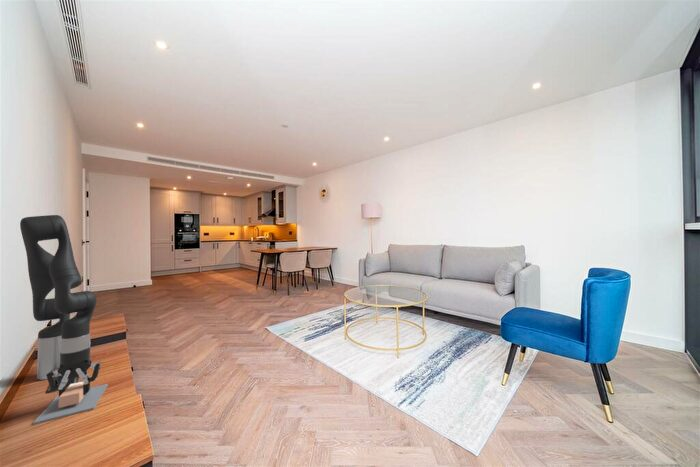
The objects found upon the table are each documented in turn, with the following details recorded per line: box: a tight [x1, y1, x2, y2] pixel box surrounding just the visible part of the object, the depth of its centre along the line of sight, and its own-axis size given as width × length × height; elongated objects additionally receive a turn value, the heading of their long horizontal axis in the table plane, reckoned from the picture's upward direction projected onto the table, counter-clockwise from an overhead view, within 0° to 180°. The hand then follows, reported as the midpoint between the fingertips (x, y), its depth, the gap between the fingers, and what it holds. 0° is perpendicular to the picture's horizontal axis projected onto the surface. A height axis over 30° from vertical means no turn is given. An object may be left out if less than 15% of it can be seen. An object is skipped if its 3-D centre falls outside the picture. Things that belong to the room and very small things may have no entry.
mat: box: [32, 383, 109, 426], centre depth 94 cm, size 18×14×1 cm
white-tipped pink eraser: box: [59, 381, 85, 408], centre depth 94 cm, size 10×5×4 cm, turn 31°
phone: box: [47, 375, 80, 394], centre depth 108 cm, size 8×1×15 cm
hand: (74, 396), depth 94 cm, fingers closed on white-tipped pink eraser, 5 cm apart
